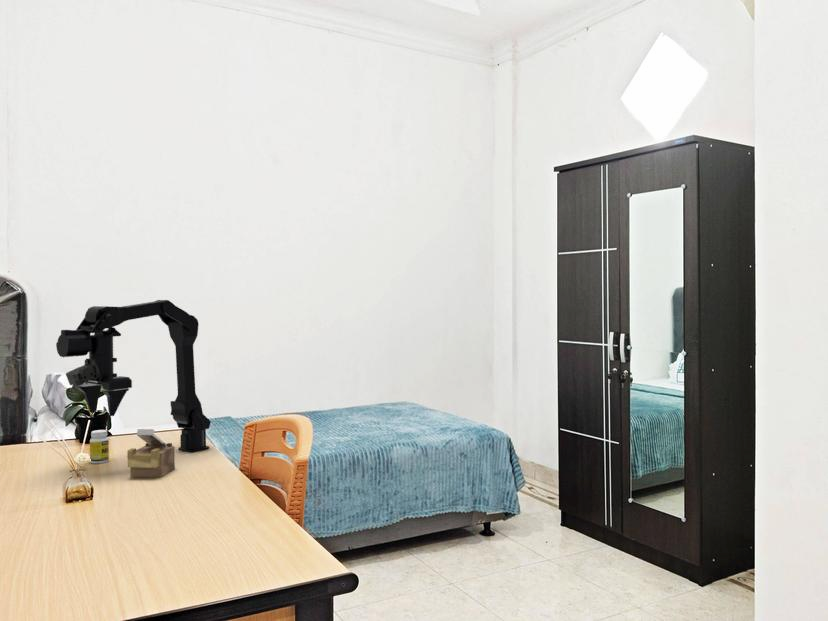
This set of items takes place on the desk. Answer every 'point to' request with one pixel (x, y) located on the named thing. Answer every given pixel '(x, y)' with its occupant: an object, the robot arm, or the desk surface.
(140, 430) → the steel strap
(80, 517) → the desk surface
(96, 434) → the supplement bottle
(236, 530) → the desk surface
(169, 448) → the walnut box
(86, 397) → the robot arm
